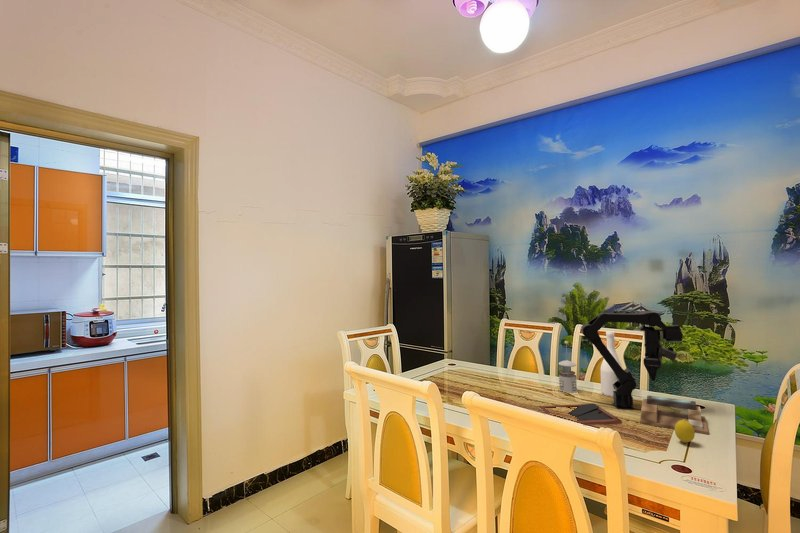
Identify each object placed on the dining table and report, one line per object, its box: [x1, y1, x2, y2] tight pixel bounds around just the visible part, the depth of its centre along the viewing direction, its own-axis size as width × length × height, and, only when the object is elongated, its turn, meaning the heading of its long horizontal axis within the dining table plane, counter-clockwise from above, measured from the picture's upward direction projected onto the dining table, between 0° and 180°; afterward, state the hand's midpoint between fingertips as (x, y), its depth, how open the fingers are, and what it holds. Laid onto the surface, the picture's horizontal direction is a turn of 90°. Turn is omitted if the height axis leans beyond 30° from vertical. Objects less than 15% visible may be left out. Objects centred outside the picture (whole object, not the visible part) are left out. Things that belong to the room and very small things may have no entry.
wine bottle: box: [600, 330, 623, 398], centre depth 189 cm, size 10×10×30 cm
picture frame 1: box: [538, 403, 623, 426], centre depth 164 cm, size 20×2×25 cm
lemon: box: [674, 419, 696, 444], centre depth 136 cm, size 6×6×8 cm
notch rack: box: [639, 398, 709, 435], centre depth 155 cm, size 21×17×5 cm
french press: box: [558, 340, 579, 393], centre depth 196 cm, size 10×12×25 cm
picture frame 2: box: [646, 395, 697, 410], centre depth 158 cm, size 16×5×2 cm, turn 56°
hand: (653, 378), depth 169 cm, fingers open, 9 cm apart
